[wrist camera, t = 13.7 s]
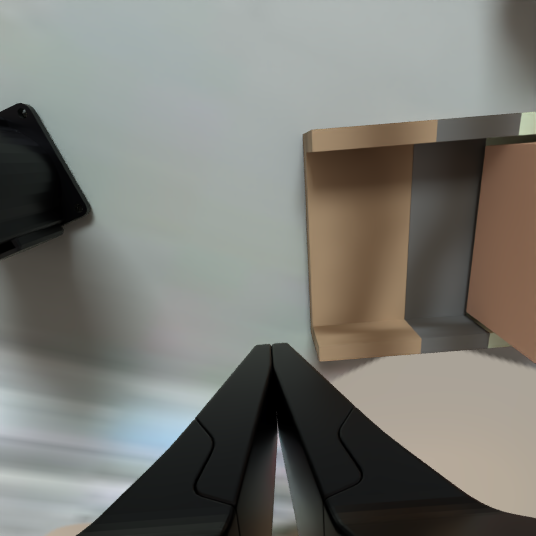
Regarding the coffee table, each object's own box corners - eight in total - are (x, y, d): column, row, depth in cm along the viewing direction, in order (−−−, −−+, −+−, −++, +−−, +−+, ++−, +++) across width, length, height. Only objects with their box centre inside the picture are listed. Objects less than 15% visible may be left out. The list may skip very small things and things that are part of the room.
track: (311, 332, 23) (319, 361, 20) (302, 134, 19) (311, 129, 16) (585, 310, 23) (639, 336, 20) (634, 107, 19) (711, 97, 16)
